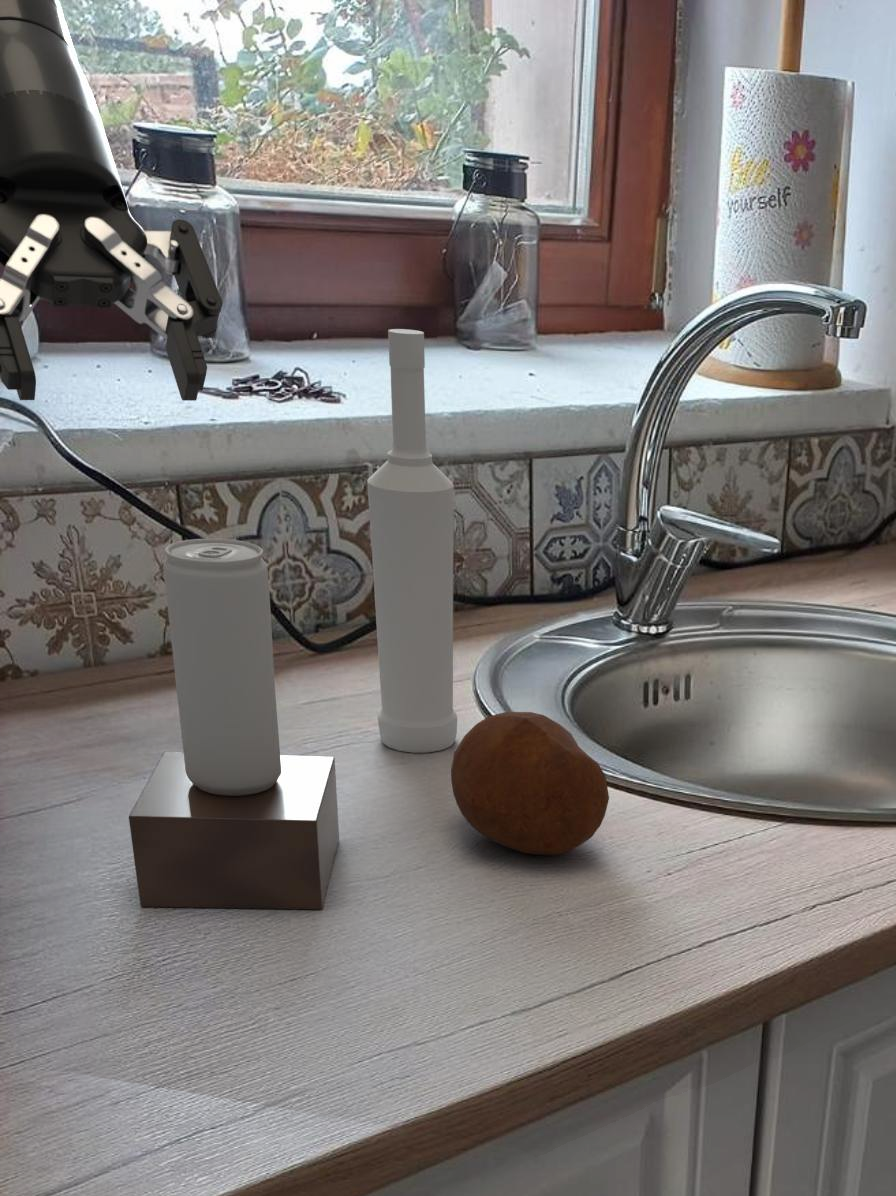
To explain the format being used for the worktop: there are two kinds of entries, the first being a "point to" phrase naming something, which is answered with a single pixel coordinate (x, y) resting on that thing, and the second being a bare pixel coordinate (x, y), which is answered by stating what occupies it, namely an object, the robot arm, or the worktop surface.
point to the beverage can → (223, 664)
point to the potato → (528, 784)
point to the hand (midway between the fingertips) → (112, 391)
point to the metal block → (236, 839)
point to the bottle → (412, 568)
